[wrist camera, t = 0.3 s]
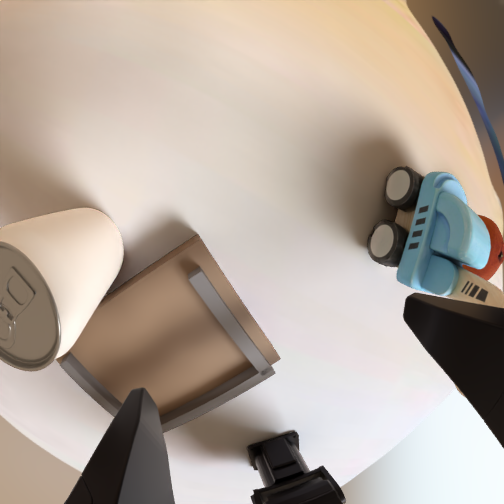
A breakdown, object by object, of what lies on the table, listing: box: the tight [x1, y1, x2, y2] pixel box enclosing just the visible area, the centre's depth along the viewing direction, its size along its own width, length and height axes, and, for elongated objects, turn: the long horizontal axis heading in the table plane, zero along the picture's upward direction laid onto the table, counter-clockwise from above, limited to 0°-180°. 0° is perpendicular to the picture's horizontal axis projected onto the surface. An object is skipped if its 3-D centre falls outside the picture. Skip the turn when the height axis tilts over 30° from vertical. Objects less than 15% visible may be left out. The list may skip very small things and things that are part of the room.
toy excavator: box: [368, 166, 504, 397], centre depth 18 cm, size 9×17×17 cm, turn 162°
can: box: [0, 208, 124, 371], centre depth 13 cm, size 6×6×12 cm
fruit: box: [462, 215, 504, 281], centre depth 25 cm, size 9×9×8 cm
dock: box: [56, 234, 281, 433], centre depth 20 cm, size 12×16×4 cm
